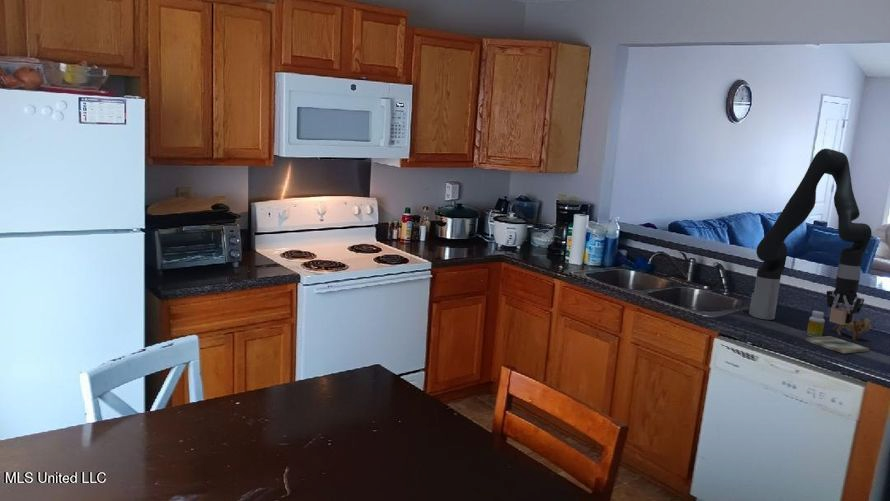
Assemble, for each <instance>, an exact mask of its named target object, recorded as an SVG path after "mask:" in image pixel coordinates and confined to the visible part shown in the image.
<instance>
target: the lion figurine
mask: <svg viewBox="0 0 890 501" xmlns="http://www.w3.org/2000/svg"><path fill="white" fill-rule="evenodd" d="M871 322H872V321H871V320H870V319H869V318H862V319H857V320H853V323H852V324H845V325H840V324H837V323H835V324H836V325H834V326H835V327H833V328H830V330H829V331H834V330H836V332H837V334H838V336H842V333H841V330H842V329H844V328H845V329H846V330H847V331H850V332H852V340H855V341H856V340H857V339H858V340H860V338H859V337H858V336H859V334H864V333H865V332H869V331H870V329H871V327H872V323H871Z"/></svg>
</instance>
